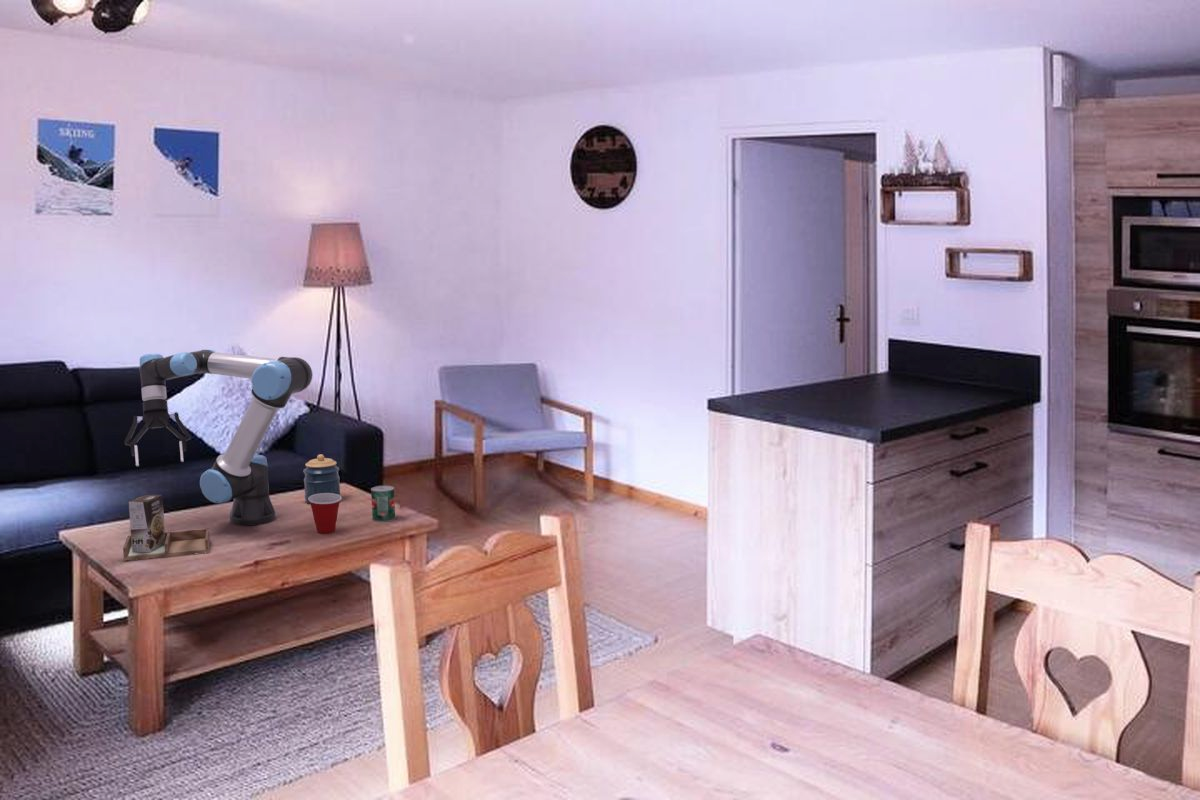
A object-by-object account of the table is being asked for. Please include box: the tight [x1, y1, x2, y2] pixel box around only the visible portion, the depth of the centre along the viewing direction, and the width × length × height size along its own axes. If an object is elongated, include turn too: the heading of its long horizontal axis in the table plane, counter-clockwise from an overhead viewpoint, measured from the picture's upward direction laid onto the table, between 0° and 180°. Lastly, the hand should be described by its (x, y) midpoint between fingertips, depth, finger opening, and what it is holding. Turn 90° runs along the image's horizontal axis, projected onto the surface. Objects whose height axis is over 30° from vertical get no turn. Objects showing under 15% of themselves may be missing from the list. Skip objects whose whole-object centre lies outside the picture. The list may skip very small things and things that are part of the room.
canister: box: [302, 453, 342, 505], centre depth 378 cm, size 13×13×18 cm
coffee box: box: [128, 494, 166, 553], centre depth 316 cm, size 9×6×16 cm
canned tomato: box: [370, 485, 396, 523], centre depth 352 cm, size 8×8×11 cm
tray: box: [122, 527, 211, 562], centre depth 318 cm, size 24×14×4 cm, turn 109°
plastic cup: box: [308, 493, 343, 535], centre depth 337 cm, size 11×11×12 cm
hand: (160, 463), depth 335 cm, fingers open, 13 cm apart
